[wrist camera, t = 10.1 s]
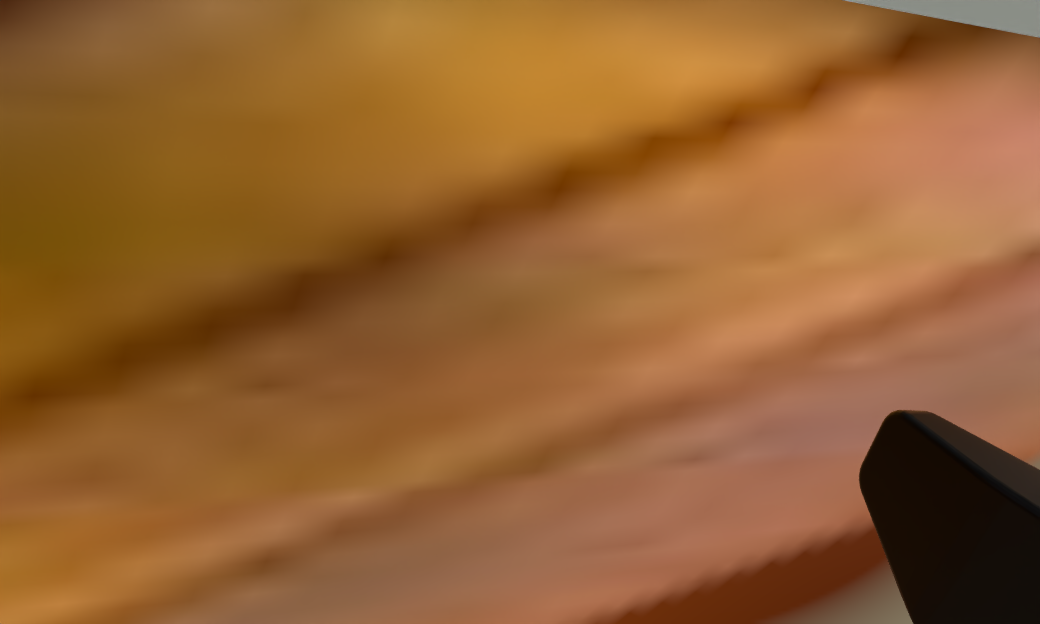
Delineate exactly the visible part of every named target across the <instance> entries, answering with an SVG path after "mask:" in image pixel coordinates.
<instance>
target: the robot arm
mask: <svg viewBox="0 0 1040 624" xmlns="http://www.w3.org/2000/svg"><path fill="white" fill-rule="evenodd" d="M859 483H860V489H861V492H862V495H863V497H864V500H865V502H866V505H867V508H868V510H869V513H870V515H871V518H872V521H873V523H874V526H875V528H876V531H877V534H878V536H879V539H880V541H881V544H882V546H883V549H884V552H885V554H886V557H887V559H888V562H889V565H890V567H891V570H892V572H893V575H894V578H895V580H896V583H897V586H898V588H899V591H900V593H901V596H902V598H903V601H904V603H905V606H906V608H907V610H908V613H909V615H910V618H911V620H912V622H913V624H1040V470H1039V469H1037V468H1035V467H1033V466H1032V465H1030V464H1028V463H1026V462H1024V461H1022V460H1020V459H1018V458H1017V457H1015V456H1013V455H1011V454H1009V453H1007V452H1005V451H1003V450H1002V449H1000V448H998V447H996V446H994V445H992V444H990V443H988V442H987V441H985V440H983V439H981V438H979V437H977V436H975V435H973V434H972V433H970V432H968V431H966V430H964V429H962V428H960V427H958V426H957V425H955V424H953V423H951V422H949V421H947V420H945V419H943V418H942V417H940V416H938V415H936V414H934V413H931V412H927V411H912V410H897V411H894V412H891V413H890V414H889V415H888V416H887V417H886V418H885V419H884V421H883V423H882V425H881V427H880V429H879V431H878V433H877V435H876V437H875V439H874V441H873V443H872V445H871V447H870V449H869V451H868V453H867V455H866V457H865V459H864V461H863V463H862V465H861V468H860V473H859Z"/></svg>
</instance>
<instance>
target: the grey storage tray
mask: <svg viewBox="0 0 1040 624" xmlns="http://www.w3.org/2000/svg"><path fill="white" fill-rule="evenodd" d="M844 1H849V2H855V3H860V4H865V5H871V6H876V7H881V8H886V9H892V10H897V11H902V12H907V13H913V14H918V15H923V16H929V17H934V18H939V19H944V20H950V21H955V22H960V23H965V24H971V25H976V26H981V27H987V28H992V29H997V30H1002V31H1008V32H1013V33H1018V34H1023V35H1029V36H1034V37H1039V38H1040V0H844Z"/></svg>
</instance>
